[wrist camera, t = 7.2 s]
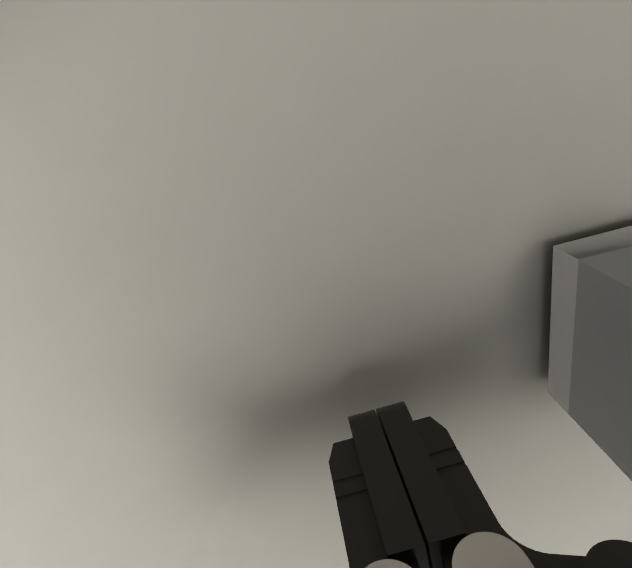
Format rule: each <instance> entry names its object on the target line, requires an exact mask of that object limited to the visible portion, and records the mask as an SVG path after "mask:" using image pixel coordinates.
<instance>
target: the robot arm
mask: <svg viewBox="0 0 632 568" xmlns="http://www.w3.org/2000/svg"><path fill="white" fill-rule="evenodd" d="M376 411H377V415H376V412H375V410H371V411H368V412H364V413H361V414H357V415H354V416H350V417H348V420H349V424H350V427H351V431H352V435H353V438H351V439H348V440H344V441H341V442H337V443H334V444H333V448H332V452H331V456H330V460H329V465H330V470H331V475H332V480H333V485H334V491H335V496H336V500H337V506H338V511H339V516H340V521H341V526H342V531H343V536H344V541H345V546H346V551H347V556H348V561H349V567H350V568H632V542H628V541H623V540H606V541H602V542H600V543H597V544H596V545H594V546H593V547H592V548H591V549H590V550H589V552H588V553H587V555H586V556H573V555H559V554H548V553H542V552H538V551H534V550H532V549H530V548H527V547H525V546H523V545H522V544H520V543H518V542H517V541H515V540H514V539H513V538H512V537H510V536H509V535H508V534H507V533H506V532H505V531H504V529H503V528H502V527H501V525H500V524H499V522H498V521H497V519H496V517H495V515H494V514H493V512H492V510H491V508H490V507H489V505H488V503H487V501H486V499H485V498H484V496H483V494H482V492H481V490H480V489H479V487H478V485H477V483H476V482H475V480H474V478H473V476H472V474H471V473H470V471H469V469H468V467H467V465H465V463H464V460H463V458H462V457H461V455H460V453H459V451H458V450H457V449H456V446H455V444H454V442H453V440H452V439H451V437H450V435H449V433H448V432H447V430H446V429H445V428H444V427H443V426H442V425H440V424H439V423H438V422H436V421H435V420H434V419H433V418H431V417H430V416H429V417H426V418H422V419H419V420H415V421H413V420H412V417H411V415H410V413H409V411H408V409H407V407H406V405H405V403H404V402H400V403H396V404H392V405H389V406H385V407H382V408H378V409H376ZM377 416H378V417H377Z"/></svg>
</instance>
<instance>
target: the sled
mask: <svg viewBox="0 0 632 568" xmlns="http://www.w3.org/2000/svg"><path fill="white" fill-rule="evenodd" d="M548 393H549V394H550V395H551V396H552V397H553V398H554V399H555V400H556V401H557V402H558V403H559V404H560V406H561V407H562V408H563V409H564V410H565V411H566V412H567V413H568V414H569V415H570V416H571V417H572V418H573V419H574V420H575V421H576V422H577V423H578V425H579V426H580V427H581V428H582V429H583V430H584V431H585V432H586V433H587V434H588V435H589V436H590V437H591V438H592V439H593V440H594V441H595V443H596V444H597V445H598V446H599V447H600V448H601V449H602V450H603V451H604V452H605V453H606V454H607V455H608V456H609V457H610V458H611V459H612V461H613V462H614V463H615V464H616V465H617V466H618V467H619V468H620V469H621V470H622V471H623V472H624V473H625V474H626V475H627V476H628V477H629V478H630V480H631V481H632V226H628V227H624V228H620V229H616V230H612V231H608V232H605V233H601V234H597V235H593V236H589V237H585V238H581V239H578V240H574V241H570V242H566V243H562V244H558V245H554V246H553V265H552V293H551V320H550V347H549V374H548Z"/></svg>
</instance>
